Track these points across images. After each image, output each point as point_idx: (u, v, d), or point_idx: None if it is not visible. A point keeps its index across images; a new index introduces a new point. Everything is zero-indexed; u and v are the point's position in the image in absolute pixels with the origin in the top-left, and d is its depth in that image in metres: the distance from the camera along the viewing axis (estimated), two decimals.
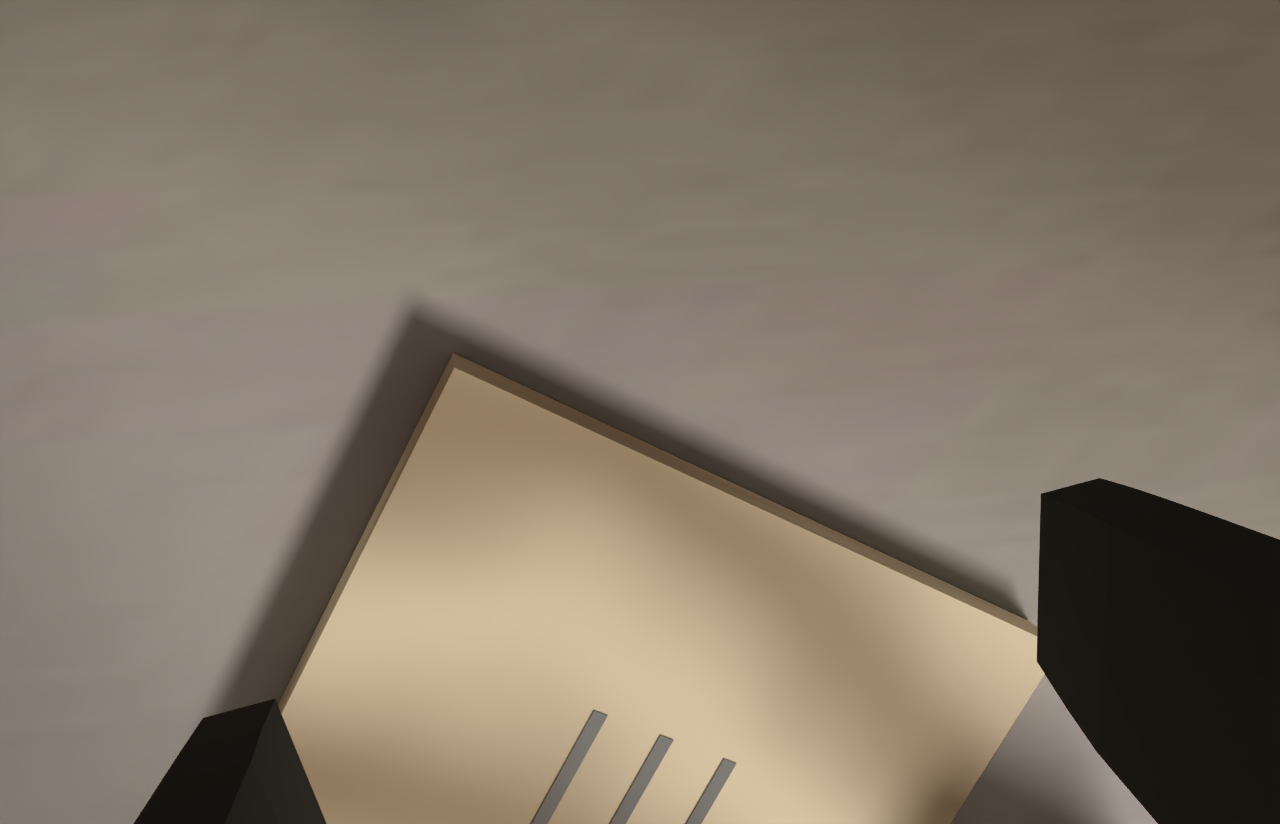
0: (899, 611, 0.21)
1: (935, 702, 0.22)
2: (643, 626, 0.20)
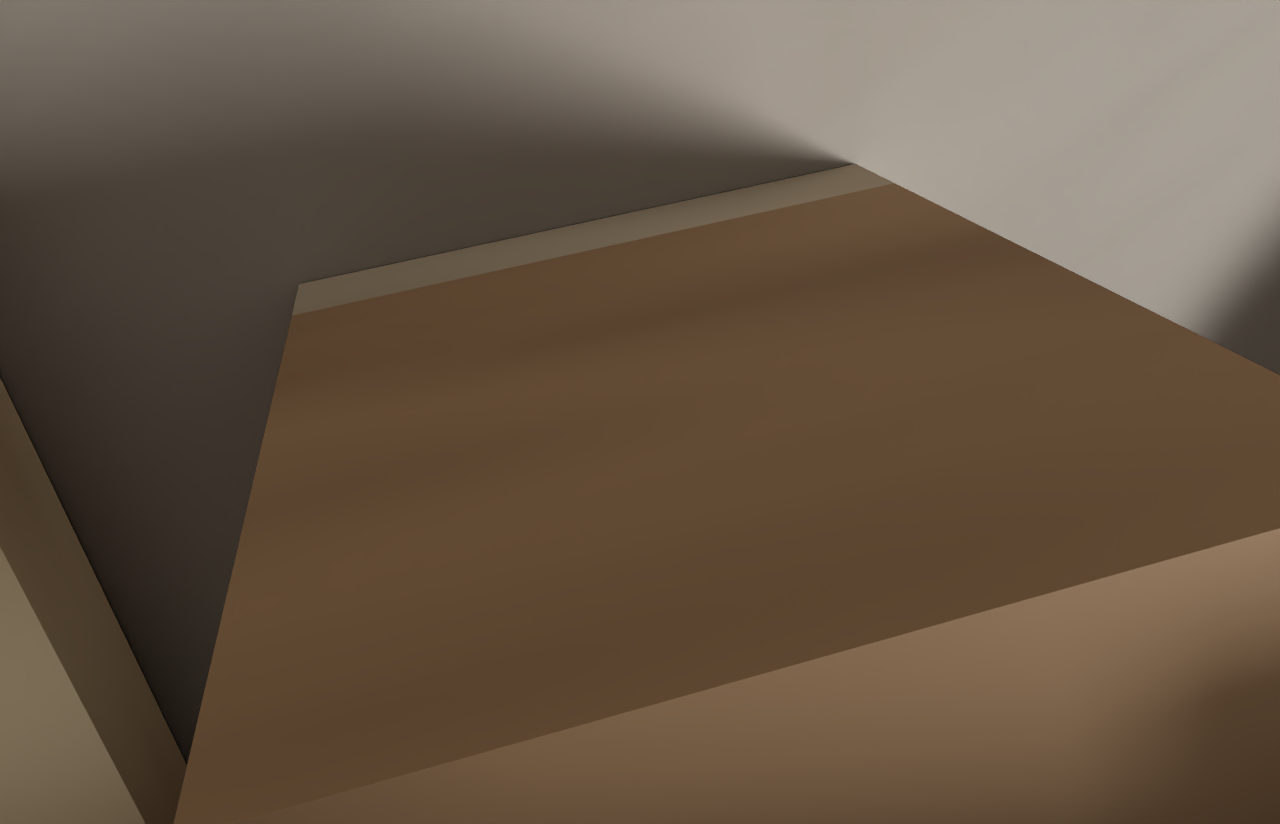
0: None
1: None
2: None
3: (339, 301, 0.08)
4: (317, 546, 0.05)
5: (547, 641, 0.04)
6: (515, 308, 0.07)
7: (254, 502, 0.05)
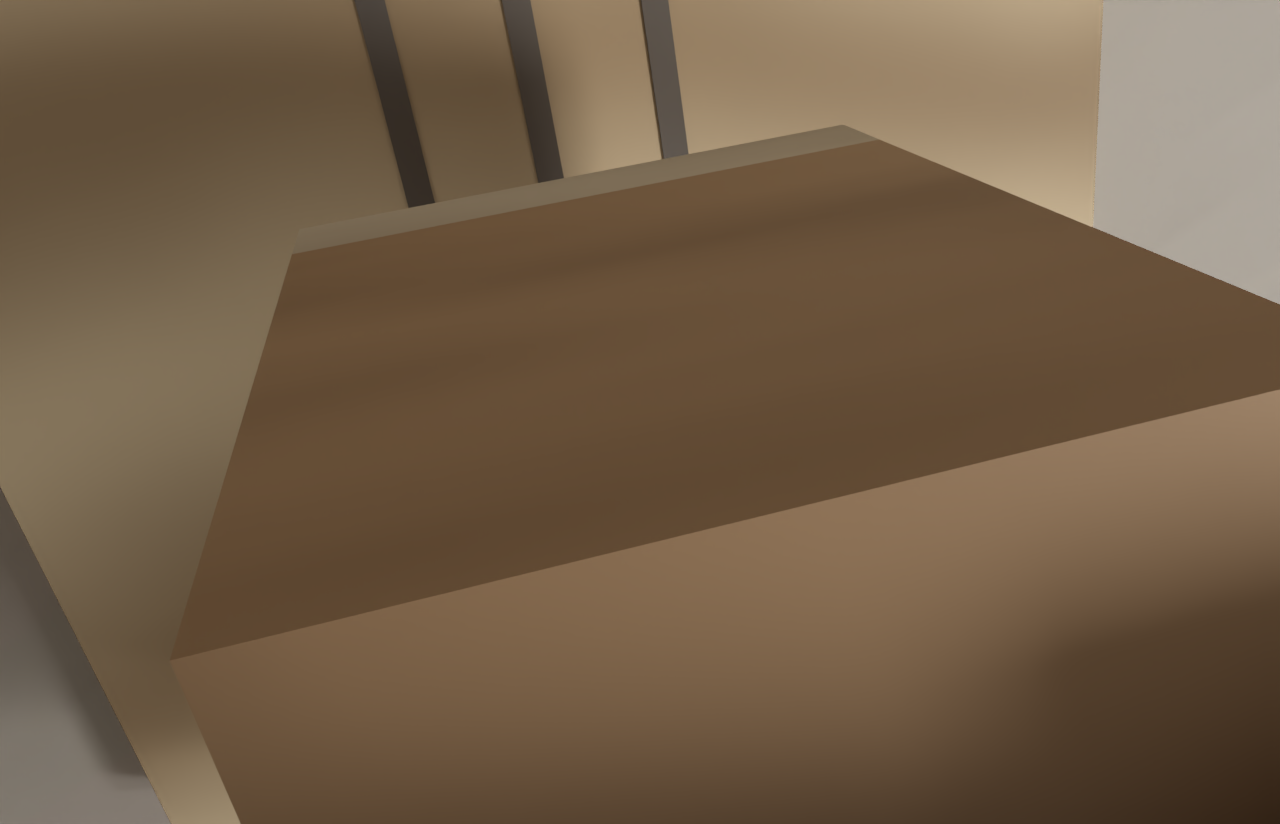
0: None
1: None
2: None
3: (338, 242, 0.08)
4: (313, 434, 0.05)
5: (530, 502, 0.04)
6: (509, 245, 0.08)
7: (253, 402, 0.06)
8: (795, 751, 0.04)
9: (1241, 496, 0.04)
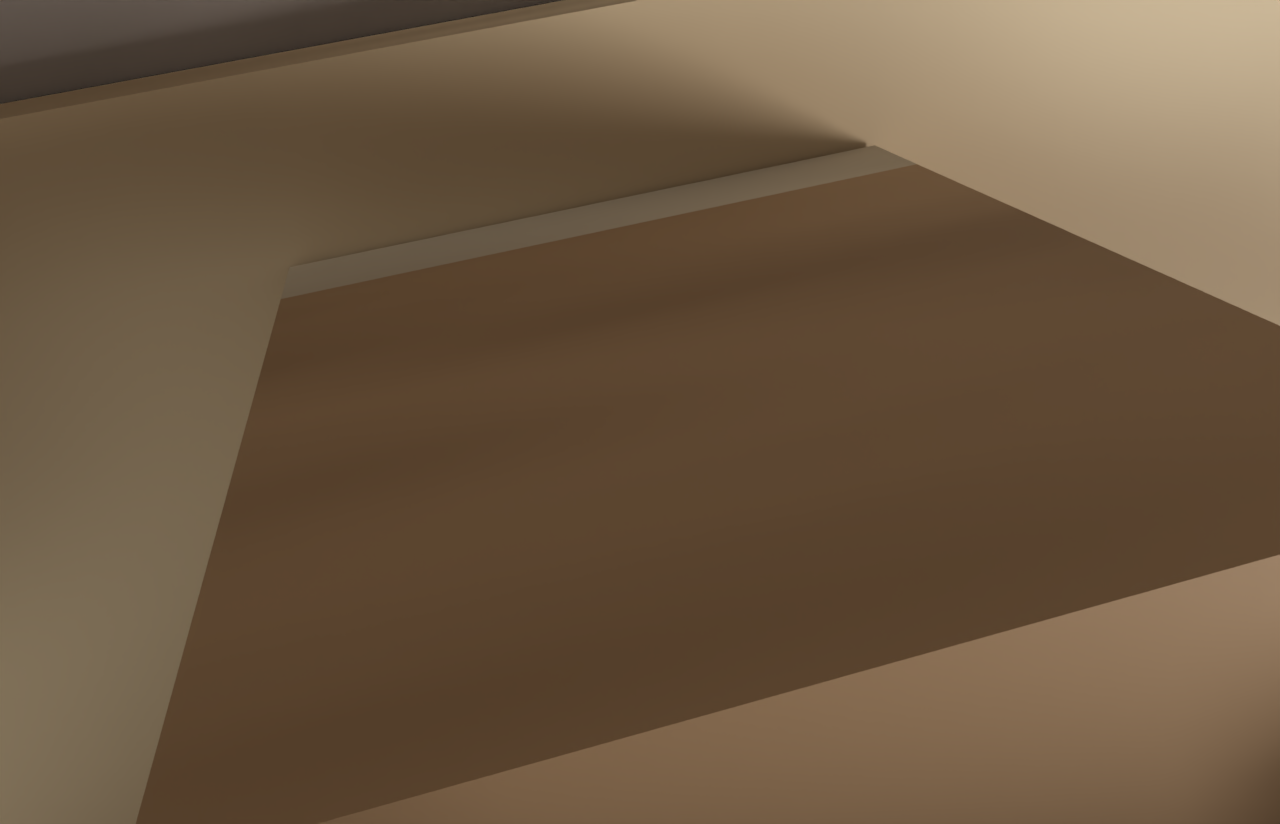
0: (939, 37, 0.09)
1: (1130, 163, 0.10)
2: None
3: (331, 284, 0.08)
4: (301, 542, 0.04)
5: (556, 645, 0.04)
6: (518, 291, 0.07)
7: (233, 495, 0.05)
8: None
9: None
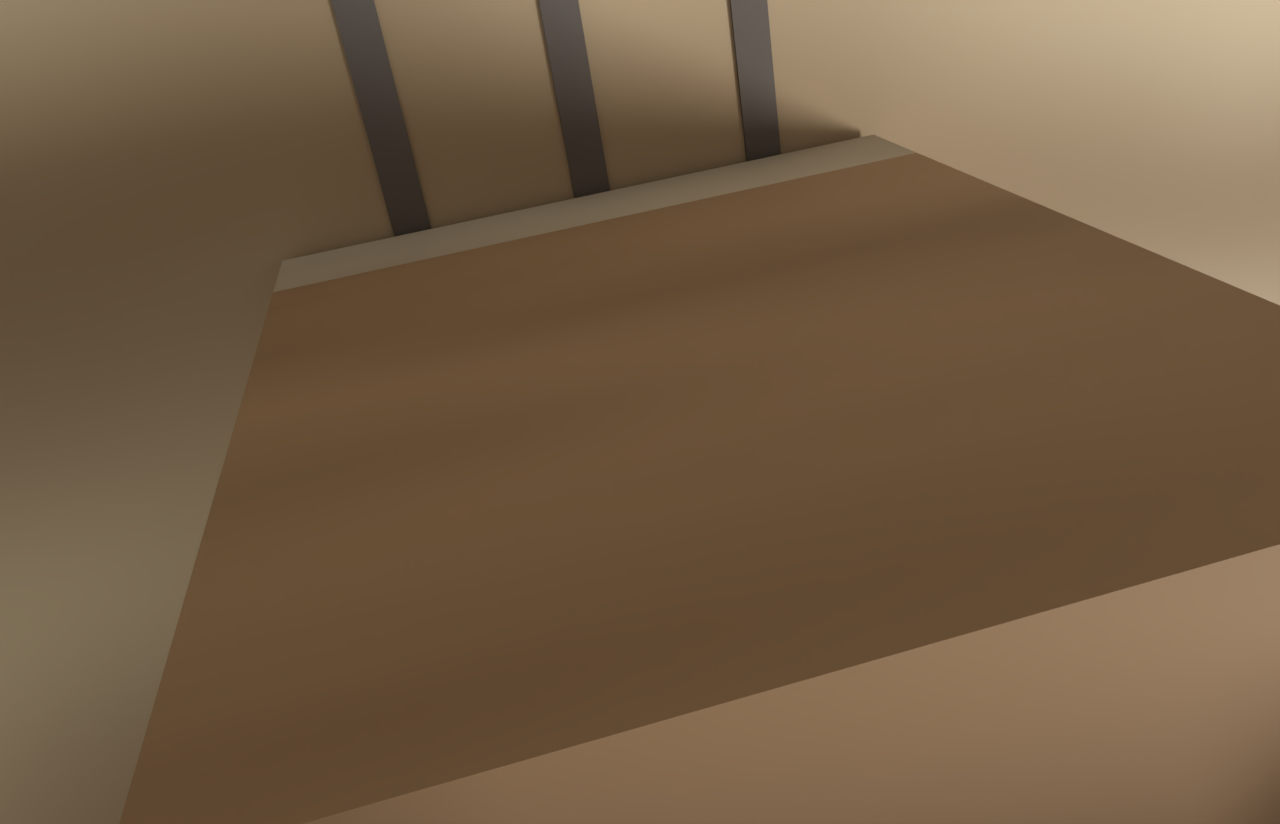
0: None
1: None
2: None
3: (325, 277, 0.08)
4: (290, 536, 0.04)
5: (550, 640, 0.03)
6: (513, 282, 0.07)
7: (222, 488, 0.05)
8: None
9: None
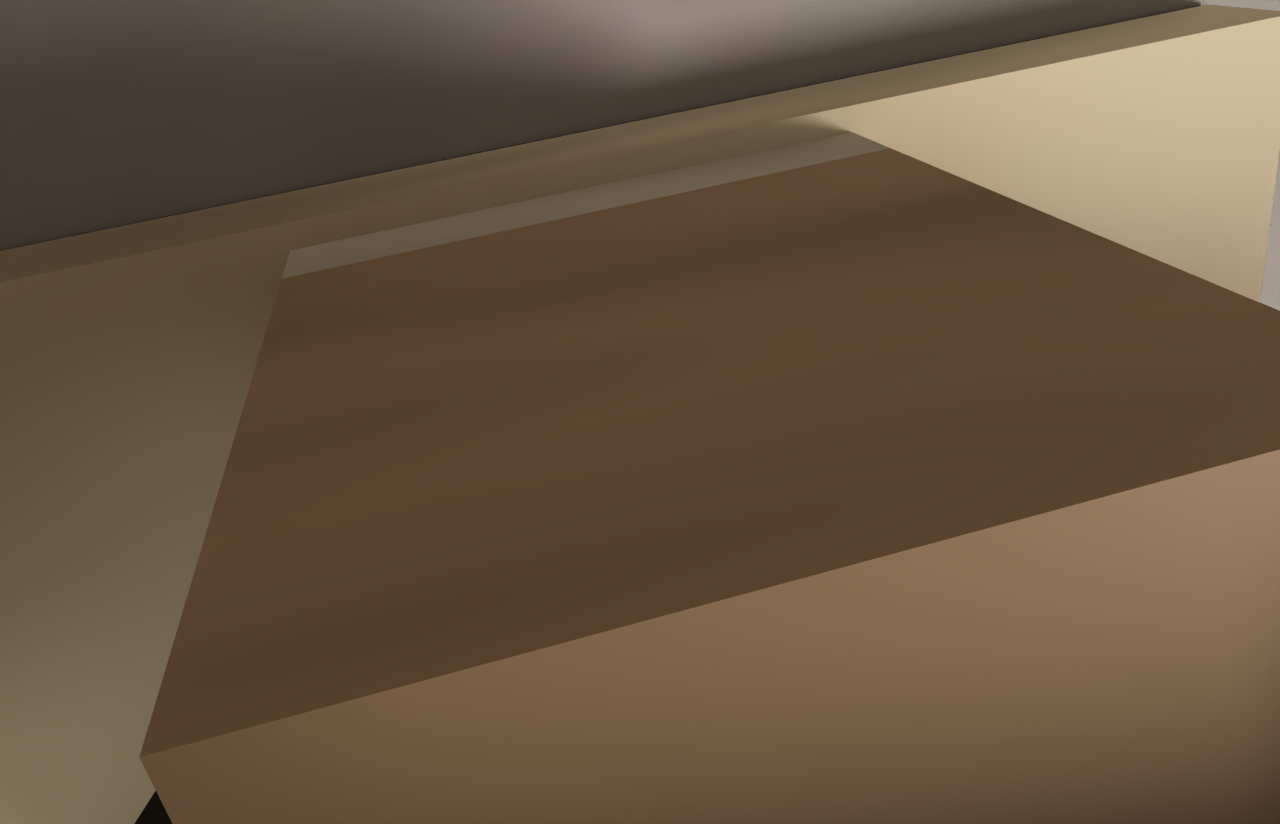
0: None
1: None
2: None
3: (331, 264, 0.08)
4: (300, 485, 0.05)
5: (532, 564, 0.04)
6: (507, 267, 0.07)
7: (238, 447, 0.05)
8: None
9: None
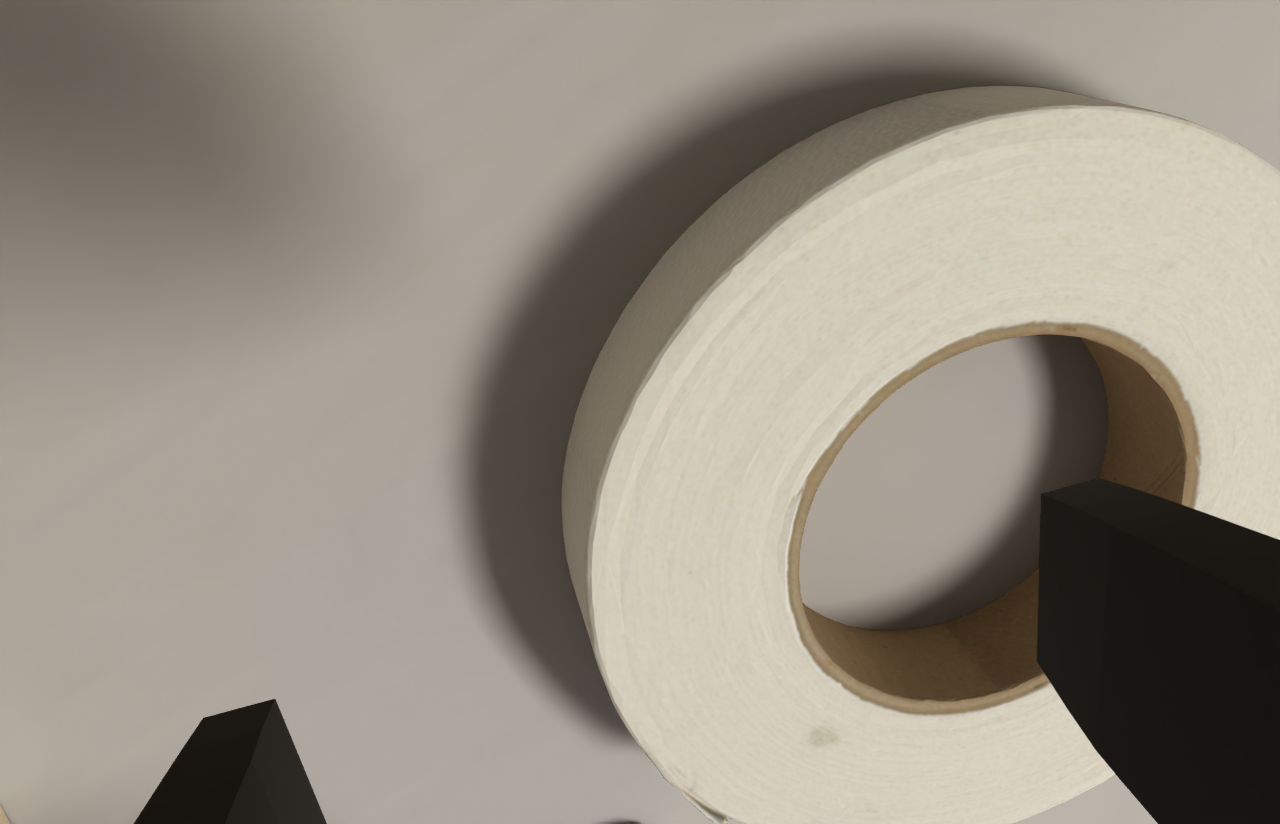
0: None
1: None
2: None
3: None
4: None
5: None
6: None
7: None
8: None
9: None
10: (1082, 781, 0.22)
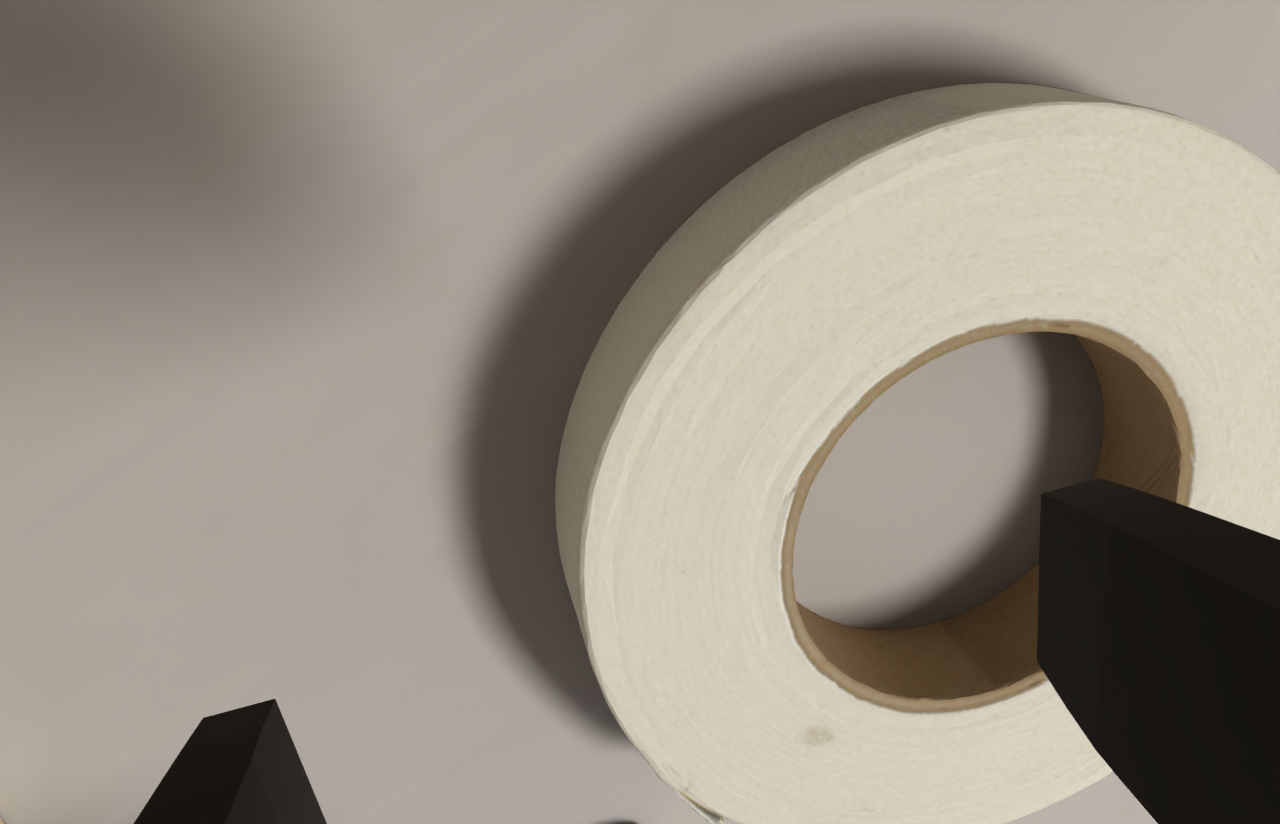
0: None
1: None
2: None
3: None
4: None
5: None
6: None
7: None
8: None
9: None
10: (1079, 780, 0.22)
